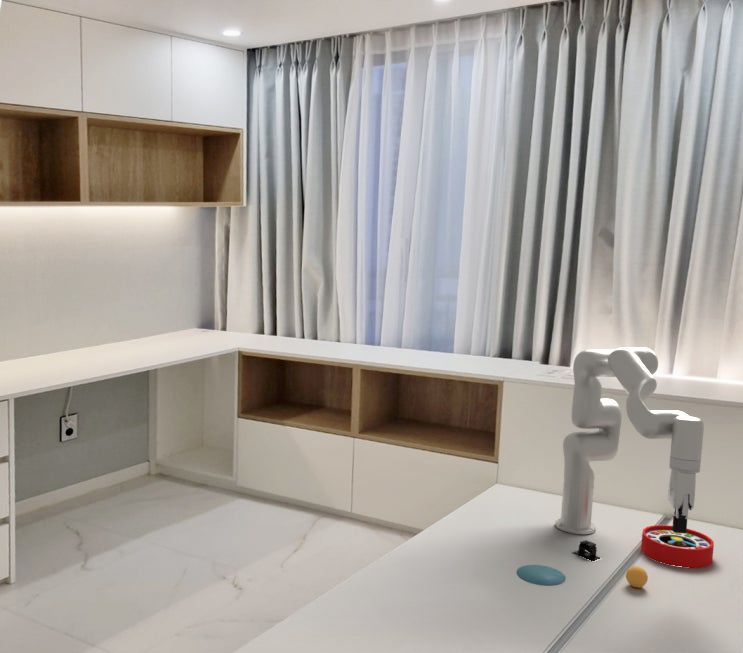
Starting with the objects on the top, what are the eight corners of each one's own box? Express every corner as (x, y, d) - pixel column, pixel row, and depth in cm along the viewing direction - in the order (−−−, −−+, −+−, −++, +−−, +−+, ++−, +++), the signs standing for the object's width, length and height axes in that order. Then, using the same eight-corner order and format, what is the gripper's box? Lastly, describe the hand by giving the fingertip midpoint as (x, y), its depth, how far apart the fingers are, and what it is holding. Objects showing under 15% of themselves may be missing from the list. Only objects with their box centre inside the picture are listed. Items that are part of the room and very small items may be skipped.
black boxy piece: (562, 553, 233) (563, 538, 233) (577, 548, 238) (578, 533, 237) (597, 567, 223) (598, 552, 223) (612, 562, 228) (613, 547, 227)
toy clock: (663, 520, 248) (726, 540, 233) (661, 538, 249) (724, 559, 234) (629, 533, 235) (694, 555, 220) (628, 552, 235) (692, 575, 221)
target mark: (516, 563, 222) (517, 562, 222) (563, 568, 220) (564, 568, 220) (516, 581, 209) (516, 581, 209) (566, 588, 207) (566, 587, 207)
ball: (623, 581, 213) (625, 561, 213) (645, 583, 212) (646, 564, 212) (626, 589, 208) (628, 569, 207) (648, 592, 207) (650, 572, 206)
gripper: (664, 455, 213) (659, 521, 214) (675, 470, 198) (669, 540, 200) (693, 458, 211) (688, 524, 213) (706, 472, 197) (700, 543, 198)
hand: (679, 531), depth 206 cm, fingers closed
